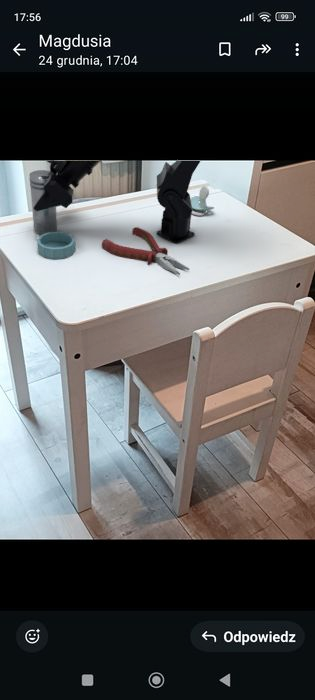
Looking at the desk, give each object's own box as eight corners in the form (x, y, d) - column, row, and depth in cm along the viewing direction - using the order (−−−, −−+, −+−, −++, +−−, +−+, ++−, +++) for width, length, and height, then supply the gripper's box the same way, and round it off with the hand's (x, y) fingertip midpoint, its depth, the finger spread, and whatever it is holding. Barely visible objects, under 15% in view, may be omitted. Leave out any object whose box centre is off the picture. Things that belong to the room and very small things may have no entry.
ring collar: (59, 238, 127) (58, 228, 125) (82, 251, 123) (82, 241, 121) (30, 249, 122) (29, 239, 121) (53, 262, 118) (52, 252, 117)
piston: (47, 222, 132) (44, 168, 124) (62, 230, 130) (59, 175, 122) (29, 229, 129) (24, 173, 121) (43, 237, 126) (39, 181, 118)
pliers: (165, 286, 114) (165, 275, 113) (99, 249, 125) (99, 238, 123) (202, 268, 121) (203, 257, 119) (136, 234, 132) (136, 224, 130)
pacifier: (195, 219, 139) (216, 215, 141) (197, 195, 135) (218, 191, 137) (180, 207, 144) (200, 203, 146) (182, 184, 140) (202, 180, 142)
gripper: (62, 112, 122) (15, 160, 129) (51, 141, 108) (-1, 194, 114) (99, 150, 128) (53, 195, 134) (94, 183, 113) (42, 231, 119)
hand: (37, 202), depth 125 cm, fingers open, 7 cm apart
